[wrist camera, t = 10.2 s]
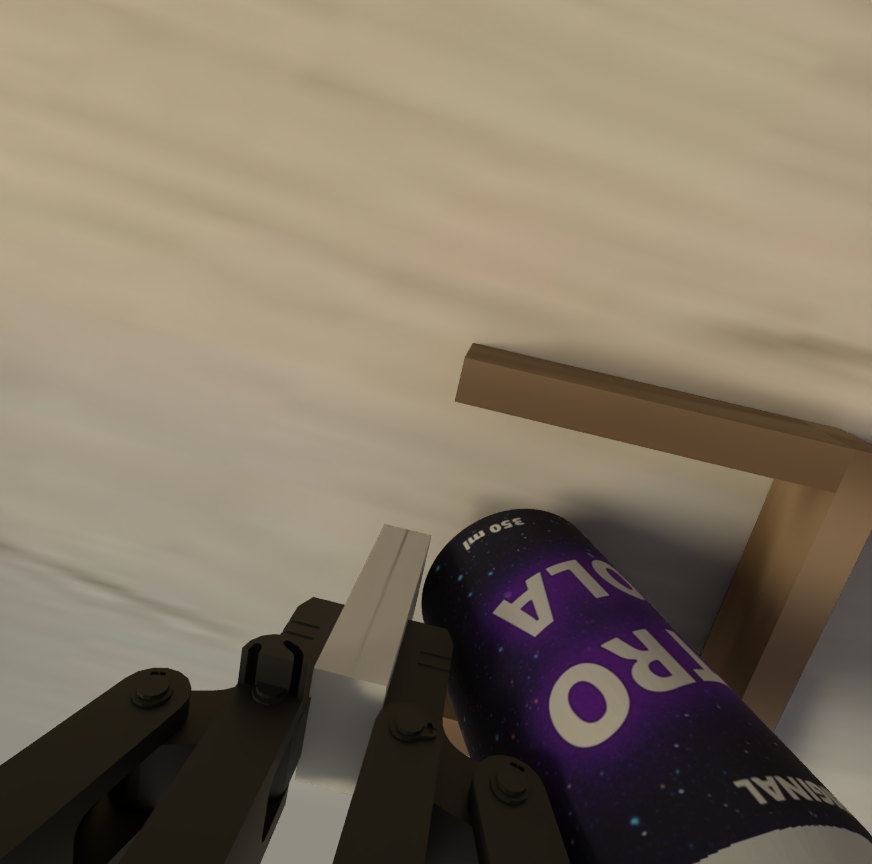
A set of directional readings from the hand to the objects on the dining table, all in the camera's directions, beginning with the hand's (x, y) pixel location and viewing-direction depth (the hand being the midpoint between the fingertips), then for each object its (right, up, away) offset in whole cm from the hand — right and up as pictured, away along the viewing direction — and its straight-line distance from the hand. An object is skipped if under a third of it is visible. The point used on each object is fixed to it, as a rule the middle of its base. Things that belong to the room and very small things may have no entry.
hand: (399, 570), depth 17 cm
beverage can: (+3, 0, +2) cm, 4 cm away
